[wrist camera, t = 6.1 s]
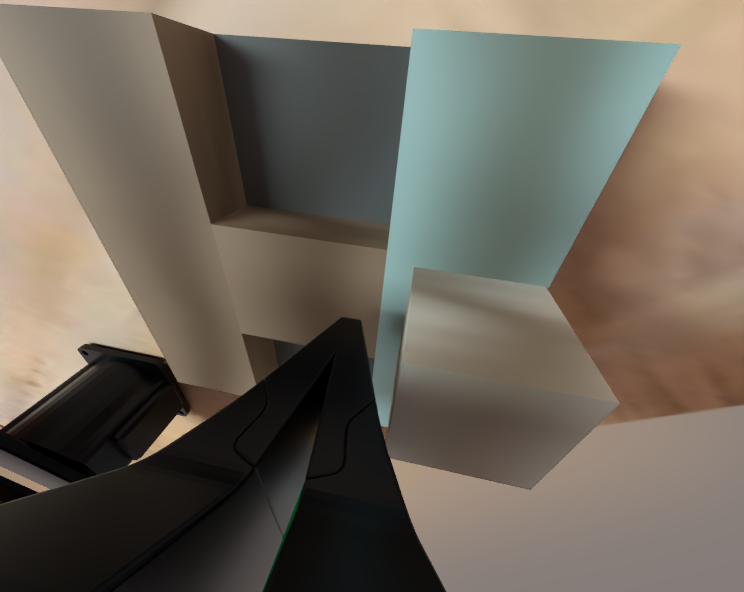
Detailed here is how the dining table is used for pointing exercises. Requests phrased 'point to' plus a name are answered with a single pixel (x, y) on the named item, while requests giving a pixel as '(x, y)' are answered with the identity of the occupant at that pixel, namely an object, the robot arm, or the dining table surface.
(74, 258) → the dining table surface
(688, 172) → the dining table surface
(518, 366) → the block
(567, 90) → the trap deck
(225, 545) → the robot arm
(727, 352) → the dining table surface
